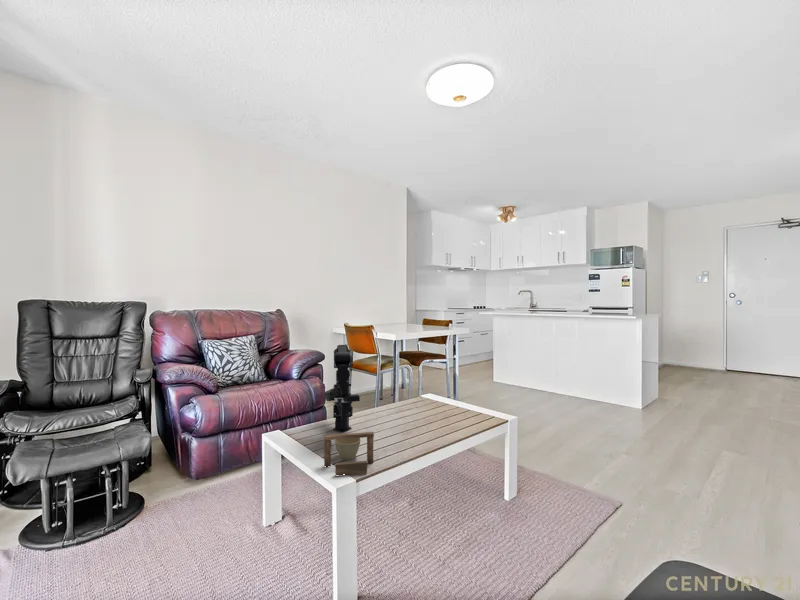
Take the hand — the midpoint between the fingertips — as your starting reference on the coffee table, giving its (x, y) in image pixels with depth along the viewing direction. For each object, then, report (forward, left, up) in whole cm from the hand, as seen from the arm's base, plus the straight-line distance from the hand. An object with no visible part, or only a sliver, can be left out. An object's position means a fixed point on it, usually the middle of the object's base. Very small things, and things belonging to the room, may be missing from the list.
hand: (342, 418), depth 167 cm
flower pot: (+11, +12, -11) cm, 19 cm away
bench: (+18, +19, -10) cm, 28 cm away
